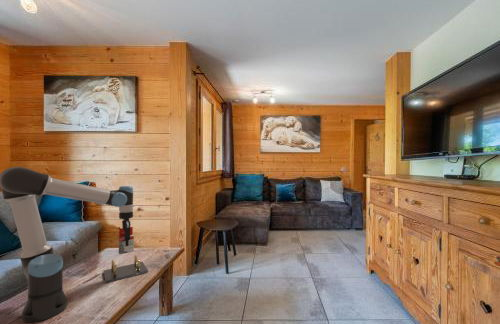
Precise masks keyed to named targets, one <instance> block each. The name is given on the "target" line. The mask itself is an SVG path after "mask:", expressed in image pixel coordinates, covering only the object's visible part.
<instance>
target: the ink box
mask: <svg viewBox="0 0 500 324" xmlns="http://www.w3.org/2000/svg"><path fill="white" fill-rule="evenodd" d="M133 229H134V227H133V226H130V240H129V251H126V252H124V241H123V240H125V235H124V230H123V228H119V229H118V234H119V235H118V254H119V255H124V254H129V253H134V252H135V235H134V234H133V232H134V230H133Z"/></svg>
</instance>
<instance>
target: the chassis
mask: <svg viewBox="0 0 500 324" xmlns="http://www.w3.org/2000/svg"><path fill="white" fill-rule="evenodd" d="M102 273H103V277H104V281H105V283H106V284H107V283H111V282H114V281H120V280H123V279H127V278H130V277H134V276H135V277H136V276H138V275H144V274H146V273H149V269H148V267H147V266H146V265H145V263H144V262H143V261H141V259H138V255H134V261H133V263H130V264H127V265H121V266H117V264H115V259H113V260H111V268H109V269H104V270H103V271H102Z"/></svg>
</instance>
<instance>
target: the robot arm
mask: <svg viewBox="0 0 500 324" xmlns="http://www.w3.org/2000/svg"><path fill="white" fill-rule="evenodd" d="M118 187H119V188H118V189H115V190H114V189H113V190H109V189H107V188H105V189H104V188H101V187H96V186H91V185H87V184H81V183H78V182H72V181H67V180H64V179H58V178H54V177H51V175H49V174H47V173H46V174H45V173H41V172H39V171H36V170H33V169H31V168H28V167H24V166H13V167H9V168H6V169H5V170H3V171H2V172H1V173H0V191H1V195H2V197H3V200H4V201H6V202H9V205H10V208H11V212H12V215H13V220H14V222H15V226H16V229H17V235H18V238H19V241H20V245H21V249H22V253H21V254H20V255H19V259H20V263H21V266H22V267H21V270H22V273H23V274H24V276H25V277H26V279H27V300H26V302H25V305H24V307H23V309H22V313H21V321H22V322H24V323H37V322H41V321H42V322H43V321H44V320H48V319H50V318H52V317H55V316H57V315H59V314H60V313H62V312H63V311H65V310H66V308H67V307H68V298H67V297H66V294H65V292H64V288H63V286H64V285H63V283H64V282H63V279H64V277H63V276H64V275H63V274H64V273H63V272H64V269H63V267H64V261H63V260H64V259H63V256H62V255H60V254H57V253H54V248H53V245H52V244H49V243H48V242H47V238H46V235H45V229H44V227H43V223H42V222H43V221H42V218H41V215H40V211H39V207H38V203H37V198H36V196H37V197H38V196H39V197H41V196H44V195H48V196H53V197H60V198H64V199H65V198H67V199H72V200H77V201H83V202H88V203H89V202H90V203H94V204H97V205H106V206H112V207H114V208H115V207H116V208H118V212H119V213H118V217H119V220H121V224H122V226H121V227H122V228H123V230H124V235H125V240H123V241H124V252H126V251H129V240H130V227H131V220H130V219H132V218H133V217H134V211H133V210H134V207H135V205H134V188H133V186H132V185H120V186H118Z"/></svg>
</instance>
